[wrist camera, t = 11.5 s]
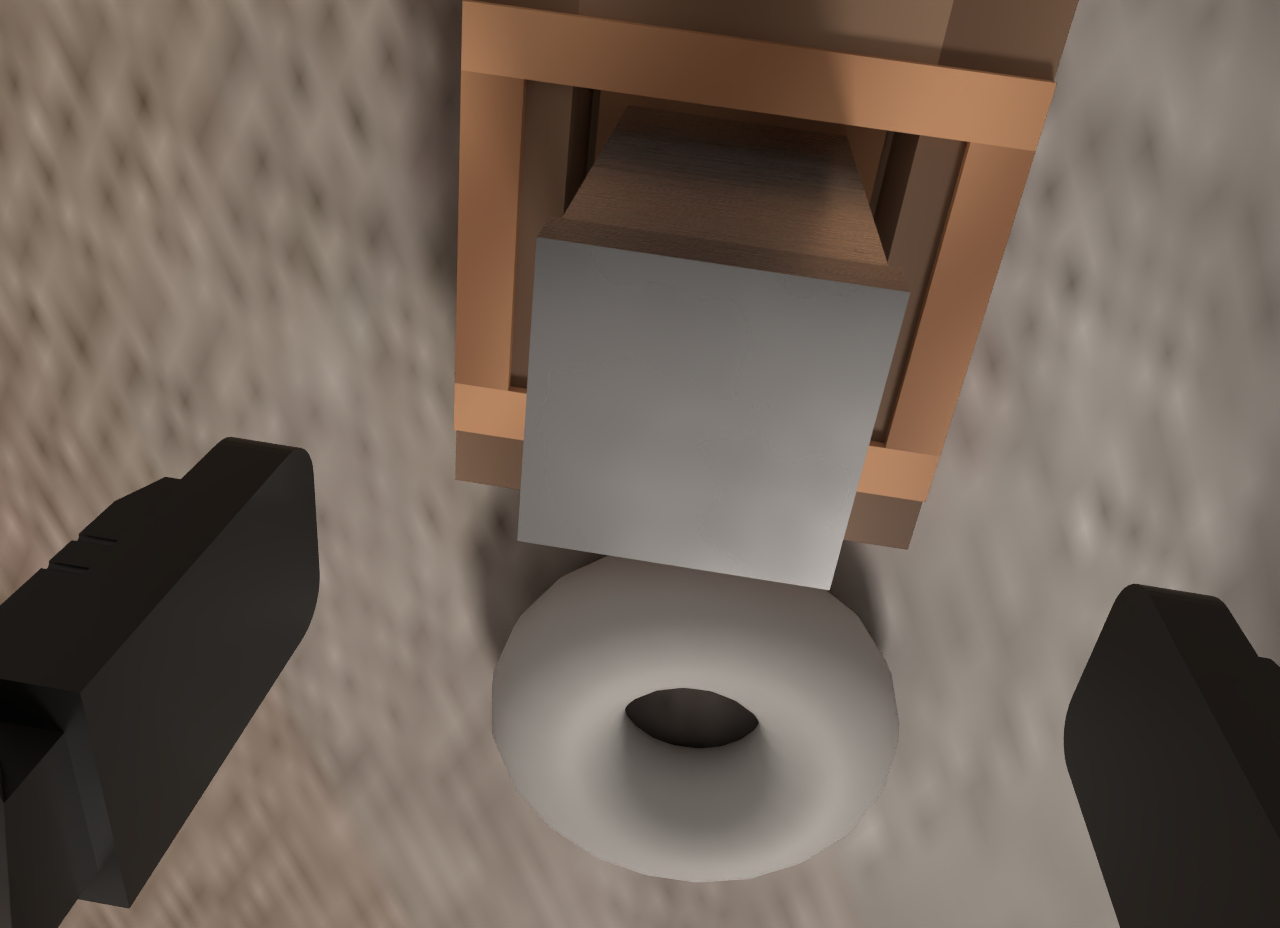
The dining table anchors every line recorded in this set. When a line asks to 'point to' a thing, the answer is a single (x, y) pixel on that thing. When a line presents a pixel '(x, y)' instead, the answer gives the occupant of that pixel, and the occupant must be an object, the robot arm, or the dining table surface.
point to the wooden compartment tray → (771, 95)
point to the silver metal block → (708, 350)
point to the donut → (684, 776)
